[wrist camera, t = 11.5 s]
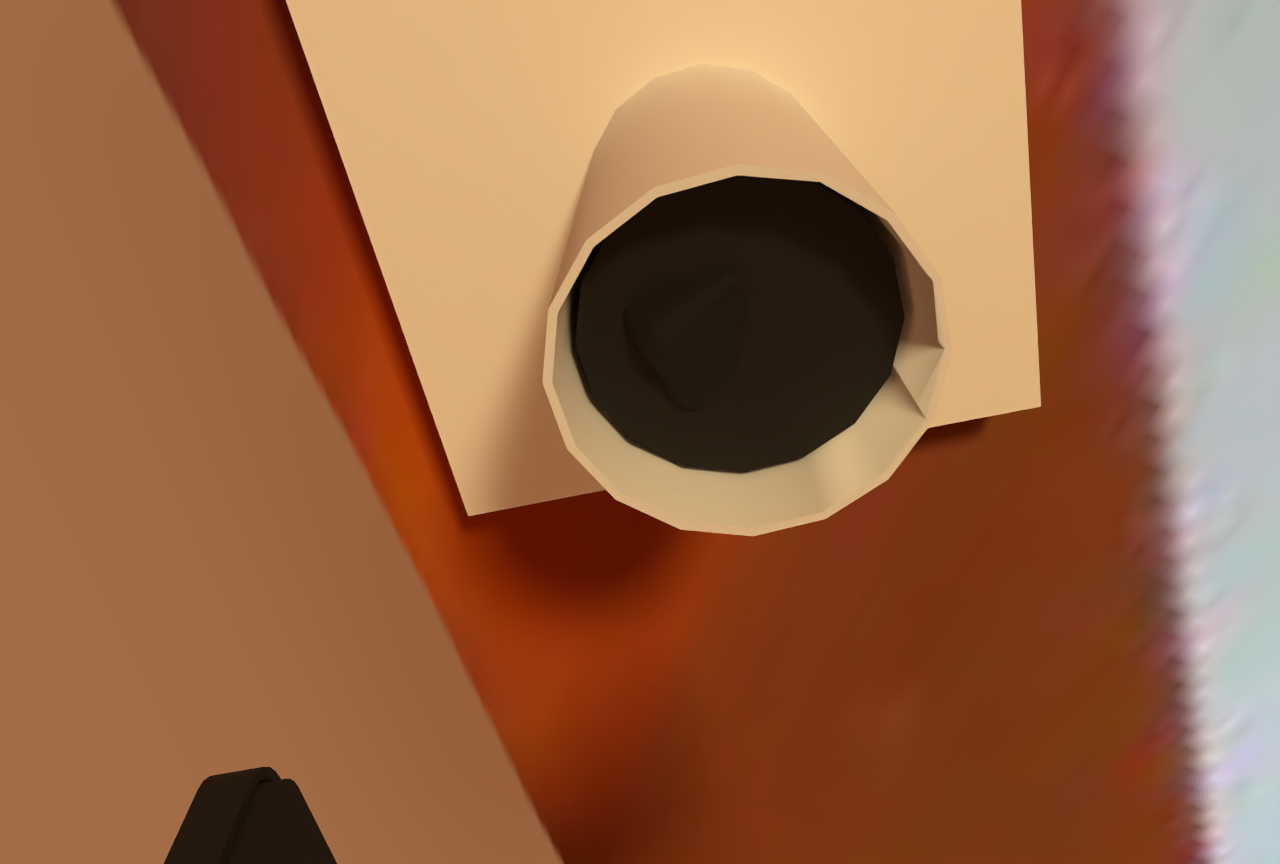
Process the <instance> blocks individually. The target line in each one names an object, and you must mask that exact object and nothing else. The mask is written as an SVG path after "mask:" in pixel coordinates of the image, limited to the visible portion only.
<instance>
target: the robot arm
mask: <svg viewBox="0 0 1280 864" xmlns="http://www.w3.org/2000/svg"><path fill="white" fill-rule="evenodd" d="M164 864H337V863H336V861H335V859H334V857H333V855H332V853H331V851H330V849H329V847H328V845H327V843H326V841H325V839H324V837H323V835H322V833H321V831H320V829H319V827H318V825H317V823H316V821H315V819H314V817H313V815H312V813H311V811H310V809H309V807H308V805H307V803H306V801H305V799H304V797H303V795H302V793H301V792H300V789H299V787H298V786H297V785H296V783H295V782H294V781H293V780H291V779H282V780H281V778H280V777H279V776H278V774H277V773H276V771H274V770H273V769H272V768H270V767H260V768H255V769H248V770H243V771H237V772H231V773H225V774H219V775H214V776H210V777H208V778H207V779H206V780H204V781H203V782H202V784H201V786H200V787H199V789H198V791H197V793H196V795H195V797H194V799H193V801H192V804H191V806H190V808H189V810H188V812H187V814H186V817H185V819H184V821H183V823H182V825H181V827H180V830H179V832H178V834H177V836H176V838H175V840H174V843H173V845H172V847H171V849H170V851H169V853H168V856H167V858H166V860H165V862H164Z"/></svg>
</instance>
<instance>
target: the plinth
mask: <svg viewBox="0 0 1280 864" xmlns="http://www.w3.org/2000/svg"><path fill="white" fill-rule="evenodd" d="M286 2H287V5H288V8H289V11H290V14H291V17H292V19H293V22H294V25H295V28H296V31H297V34H298V36H299V39H300V42H301V45H302V48H303V51H304V53H305V56H306V59H307V62H308V65H309V67H310V70H311V73H312V76H313V79H314V82H315V84H316V87H317V90H318V93H319V96H320V99H321V101H322V104H323V107H324V110H325V113H326V116H327V118H328V121H329V124H330V127H331V130H332V133H333V135H334V138H335V141H336V144H337V147H338V150H339V152H340V155H341V158H342V161H343V164H344V166H345V169H346V172H347V175H348V178H349V181H350V183H351V186H352V189H353V192H354V195H355V198H356V200H357V203H358V206H359V209H360V212H361V215H362V217H363V220H364V223H365V226H366V229H367V232H368V234H369V237H370V240H371V243H372V246H373V248H374V251H375V254H376V257H377V260H378V263H379V265H380V268H381V271H382V274H383V277H384V280H385V282H386V285H387V288H388V291H389V294H390V297H391V299H392V302H393V305H394V308H395V311H396V314H397V316H398V319H399V322H400V325H401V328H402V331H403V333H404V336H405V339H406V342H407V345H408V347H409V350H410V353H411V356H412V359H413V362H414V364H415V367H416V370H417V373H418V376H419V379H420V381H421V384H422V387H423V390H424V393H425V396H426V398H427V401H428V404H429V407H430V410H431V413H432V415H433V418H434V421H435V424H436V427H437V429H438V432H439V435H440V438H441V441H442V444H443V446H444V449H445V452H446V455H447V458H448V461H449V463H450V466H451V469H452V472H453V475H454V478H455V480H456V483H457V486H458V489H459V492H460V495H461V497H462V500H463V503H464V506H465V509H466V512H467V514H468V516H472V515H477V514H483V513H488V512H493V511H498V510H504V509H509V508H514V507H519V506H524V505H530V504H535V503H540V502H545V501H550V500H556V499H561V498H566V497H571V496H576V495H582V494H587V493H592V492H597V491H603V490H606V489H605V488H604V487H603V486H602V485H601V484H600V483H599V482H598V481H597V480H596V479H595V478H594V477H593V476H592V475H591V474H590V473H589V472H588V470H587V469H586V468H585V467H584V466H583V465H582V464H581V463H580V462H579V461H578V460H577V459H576V458H575V457H574V456H573V455H572V454H571V453H570V452H569V451H568V450H567V448H566V445H565V443H564V440H563V437H562V434H561V432H560V429H559V426H558V424H557V421H556V418H555V415H554V413H553V410H552V407H551V405H550V402H549V399H548V397H547V394H546V391H545V388H544V386H543V383H542V382H543V369H544V356H545V343H546V330H547V318H548V308H549V305H550V301H551V298H552V294H553V291H554V287H555V284H556V280H557V277H558V273H559V270H560V267H561V263H562V260H563V256H564V253H565V249H566V246H567V242H568V239H569V235H570V232H571V228H572V225H573V222H574V218H575V215H576V211H577V208H578V204H579V201H580V197H581V194H582V190H583V187H584V183H585V180H586V177H587V173H588V170H589V166H590V163H591V159H592V156H593V151H594V149H595V148H596V146H597V144H598V142H599V140H600V138H601V136H602V134H603V133H604V131H605V129H606V127H607V125H608V123H609V121H610V119H611V118H612V116H613V114H614V112H615V110H616V109H617V108H618V107H619V106H621V105H622V104H623V103H624V102H625V101H627V100H628V99H629V98H630V97H632V96H633V95H634V94H635V93H636V92H638V91H639V90H640V89H641V88H643V87H644V86H645V85H646V84H647V83H649V82H650V81H651V80H652V79H654V78H656V77H660V76H663V75H666V74H670V73H673V72H676V71H680V70H683V69H686V68H690V67H693V66H697V65H700V64H705V65H714V66H722V67H731V68H740V69H748V70H751V71H753V72H755V73H757V74H758V75H760V76H762V77H763V78H765V79H767V80H768V81H770V82H772V83H774V84H775V85H777V86H779V87H780V88H782V89H784V90H786V91H787V92H789V93H791V94H792V95H793V97H794V98H795V99H796V100H797V101H798V103H799V104H800V105H801V106H802V107H803V108H804V109H805V111H806V112H807V113H808V114H809V115H810V116H811V117H812V119H813V120H814V121H815V122H816V123H817V124H818V125H819V127H820V128H821V129H822V130H823V131H824V132H825V133H826V135H827V136H828V137H829V138H830V139H831V140H832V141H833V143H834V144H835V145H836V146H837V147H838V148H839V149H840V151H841V152H842V153H843V154H844V155H845V156H846V157H847V159H848V160H849V161H850V162H851V163H852V164H853V165H854V167H855V168H856V169H857V170H858V171H859V172H860V173H861V175H862V176H863V177H864V178H865V179H866V180H867V181H868V183H869V184H870V185H871V186H872V187H873V188H874V189H875V191H876V192H877V193H878V194H879V195H880V196H881V197H882V199H883V200H884V201H885V202H886V203H887V204H888V205H889V207H890V208H891V209H892V210H893V211H894V212H895V213H896V215H897V216H898V217H899V219H900V220H901V222H902V223H903V225H904V226H905V227H906V229H907V230H908V232H909V233H910V234H911V236H912V237H913V239H914V240H915V242H916V243H917V244H918V246H919V247H920V249H921V250H922V251H923V253H924V254H925V256H926V257H927V259H928V260H929V261H930V263H931V264H932V266H933V267H934V268H935V270H936V271H937V273H938V274H939V276H940V277H941V282H942V288H943V294H944V300H945V306H946V312H947V318H948V324H949V330H950V337H951V343H952V349H953V351H952V355H951V359H950V362H949V366H948V370H947V373H946V377H945V380H944V384H943V388H942V391H941V395H940V399H939V402H938V406H937V410H936V413H935V417H934V421H933V422H932V423H931V425H930V426H929V427H928V428H931V427H936V426H941V425H946V424H952V423H957V422H962V421H967V420H973V419H978V418H983V417H988V416H993V415H999V414H1004V413H1009V412H1014V411H1019V410H1025V409H1030V408H1035V407H1040V406H1041V398H1040V377H1039V357H1038V337H1037V317H1036V296H1035V276H1034V256H1033V236H1032V215H1031V195H1030V175H1029V155H1028V134H1027V114H1026V94H1025V73H1024V53H1023V33H1022V13H1021V0H286Z"/></svg>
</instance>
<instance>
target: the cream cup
mask: <svg viewBox="0 0 1280 864" xmlns="http://www.w3.org/2000/svg"><path fill="white" fill-rule="evenodd" d="M952 351H953V349H952V343H951V337H950V330H949V324H948V318H947V312H946V306H945V300H944V294H943V288H942V282H941V277H940V276H939V274H938V273H937V271H936V270H935V268H934V267H933V266H932V264H931V263H930V261H929V260H928V259H927V257H926V256H925V254H924V253H923V251H922V250H921V249H920V247H919V246H918V244H917V243H916V242H915V240H914V239H913V237H912V236H911V234H910V233H909V232H908V230H907V229H906V227H905V226H904V225H903V223H902V222H901V220H900V219H899V217H898V216H897V215H896V213H895V212H894V211H893V210H892V209H891V208H890V207H889V205H888V204H887V203H886V202H885V201H884V200H883V199H882V197H881V196H880V195H879V194H878V193H877V192H876V191H875V189H874V188H873V187H872V186H871V185H870V184H869V183H868V181H867V180H866V179H865V178H864V177H863V176H862V175H861V173H860V172H859V171H858V170H857V169H856V168H855V167H854V165H853V164H852V163H851V162H850V161H849V160H848V159H847V157H846V156H845V155H844V154H843V153H842V152H841V151H840V149H839V148H838V147H837V146H836V145H835V144H834V143H833V141H832V140H831V139H830V138H829V137H828V136H827V135H826V133H825V132H824V131H823V130H822V129H821V128H820V127H819V125H818V124H817V123H816V122H815V121H814V120H813V119H812V117H811V116H810V115H809V114H808V113H807V112H806V111H805V109H804V108H803V107H802V106H801V105H800V104H799V103H798V101H797V100H796V99H795V98H794V97H793V95H792V94H791V93H789V92H787V91H786V90H784V89H782V88H780V87H779V86H777V85H775V84H774V83H772V82H770V81H768V80H767V79H765V78H763V77H762V76H760V75H758V74H757V73H755V72H753V71H751V70H748V69H740V68H731V67H722V66H714V65H705V64H700V65H697V66H693V67H690V68H686V69H683V70H680V71H676V72H673V73H670V74H666V75H663V76H660V77H656V78H654V79H652V80H651V81H650V82H649V83H647V84H646V85H645V86H644V87H643V88H641V89H640V90H639V91H638V92H636V93H635V94H634V95H633V96H632V97H630V98H629V99H628V100H627V101H625V102H624V103H623V104H622V105H621V106H619V107H618V108H617V109H616V110H615V112H614V114H613V116H612V118H611V119H610V121H609V123H608V125H607V127H606V129H605V131H604V133H603V134H602V136H601V138H600V140H599V142H598V144H597V146H596V148H595V149H594V151H593V156H592V159H591V163H590V166H589V170H588V173H587V177H586V180H585V183H584V187H583V190H582V194H581V197H580V201H579V204H578V208H577V211H576V215H575V218H574V222H573V225H572V228H571V232H570V235H569V239H568V242H567V246H566V249H565V253H564V256H563V260H562V263H561V267H560V270H559V273H558V277H557V280H556V284H555V287H554V291H553V294H552V298H551V301H550V305H549V308H548V318H547V330H546V343H545V356H544V369H543V382H542V383H543V386H544V388H545V391H546V394H547V397H548V399H549V402H550V405H551V407H552V410H553V413H554V415H555V418H556V421H557V424H558V426H559V429H560V432H561V434H562V437H563V440H564V443H565V445H566V448H567V450H568V451H569V452H570V453H571V454H572V455H573V456H574V457H575V458H576V459H577V460H578V461H579V462H580V463H581V464H582V465H583V466H584V467H585V468H586V469H587V470H588V472H589V473H590V474H591V475H592V476H593V477H594V478H595V479H596V480H597V481H598V482H599V483H600V484H601V485H602V486H603V487H604V488H605V489H606V490H607V491H608V492H609V493H610V494H611V496H612V497H613V498H614V499H615V500H617V501H619V502H622V503H624V504H626V505H628V506H630V507H632V508H635V509H637V510H639V511H641V512H643V513H646V514H648V515H650V516H652V517H654V518H656V519H659V520H661V521H663V522H665V523H667V524H669V525H672V526H674V527H676V528H678V529H680V530H691V531H702V532H713V533H724V534H735V535H746V536H756V535H760V534H764V533H768V532H773V531H777V530H781V529H785V528H789V527H794V526H798V525H802V524H806V523H810V522H814V521H819V520H823V519H826V518H828V517H829V516H831V515H832V514H834V513H836V512H837V511H839V510H840V509H842V508H843V507H845V506H847V505H848V504H850V503H851V502H853V501H855V500H856V499H858V498H859V497H861V496H862V495H864V494H866V493H867V492H869V491H870V490H872V489H874V488H875V487H877V486H878V485H880V484H882V483H883V482H885V481H886V480H888V479H889V478H890V476H891V475H892V474H893V473H894V471H895V470H896V469H897V467H898V466H899V465H900V463H901V462H902V461H903V460H904V458H905V457H906V456H907V454H908V453H909V452H910V450H911V449H912V448H913V447H914V445H915V444H916V443H917V441H918V440H919V439H920V438H921V436H922V435H923V434H924V432H925V431H926V430H927V428H928V427H929V426H930V425H931V423H932V422H933V421H934V417H935V413H936V410H937V406H938V402H939V399H940V395H941V391H942V388H943V384H944V380H945V377H946V373H947V370H948V366H949V362H950V359H951V355H952Z"/></svg>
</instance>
